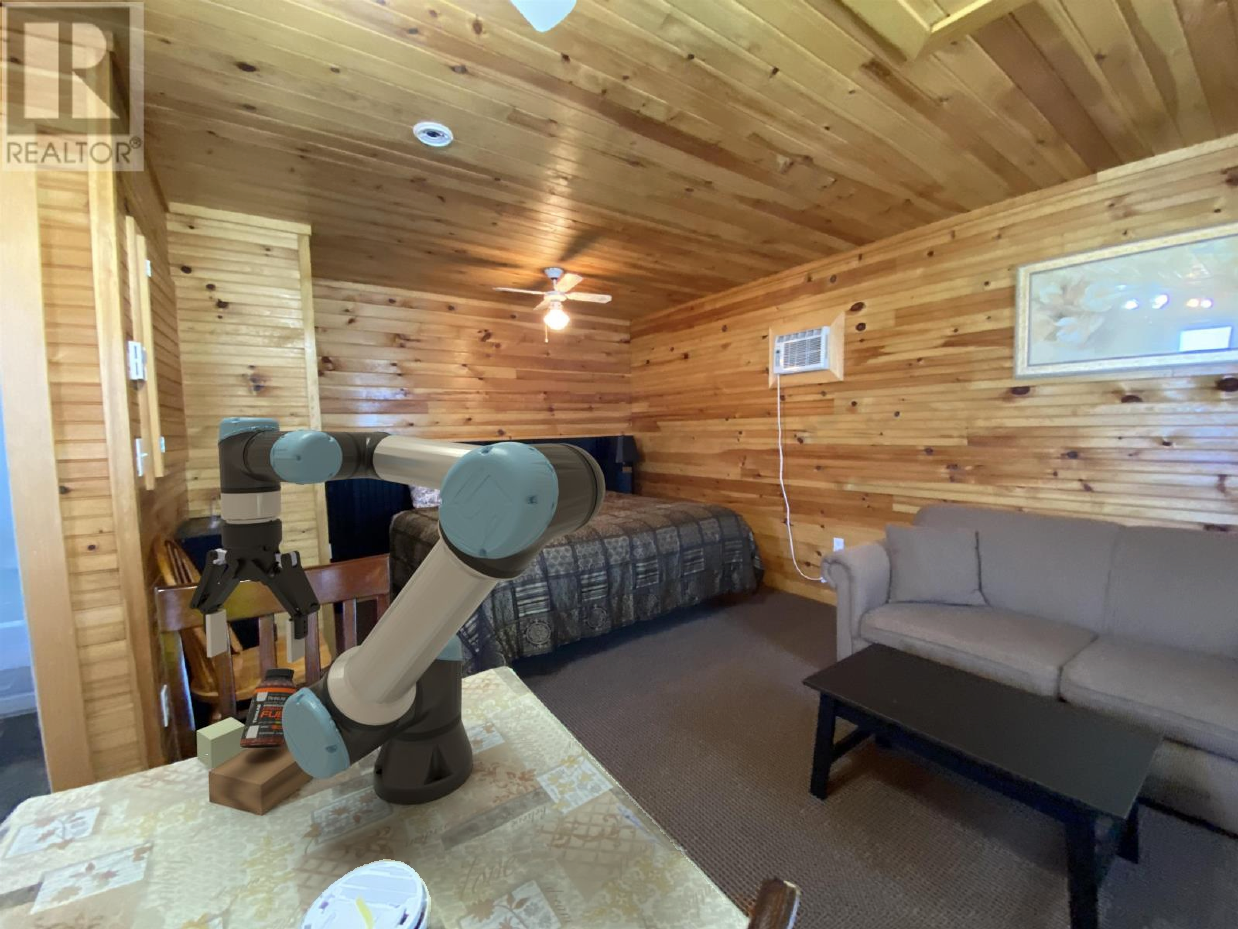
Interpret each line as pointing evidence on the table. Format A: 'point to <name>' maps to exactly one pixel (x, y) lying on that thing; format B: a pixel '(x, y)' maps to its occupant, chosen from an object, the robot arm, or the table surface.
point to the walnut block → (256, 779)
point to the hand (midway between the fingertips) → (256, 656)
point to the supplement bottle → (268, 710)
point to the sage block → (219, 742)
